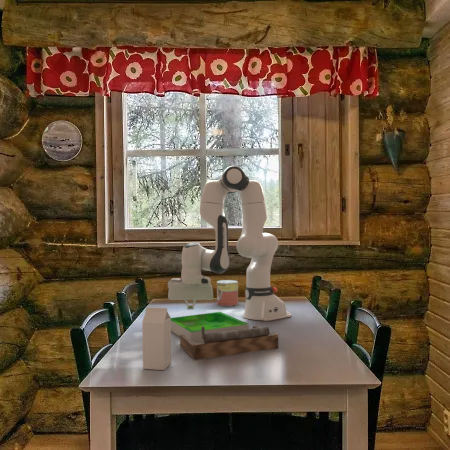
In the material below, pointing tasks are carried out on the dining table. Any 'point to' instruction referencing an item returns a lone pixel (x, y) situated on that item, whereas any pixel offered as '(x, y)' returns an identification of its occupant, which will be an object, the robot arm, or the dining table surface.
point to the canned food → (227, 292)
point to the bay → (230, 342)
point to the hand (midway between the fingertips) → (190, 309)
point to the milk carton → (156, 339)
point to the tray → (205, 325)
